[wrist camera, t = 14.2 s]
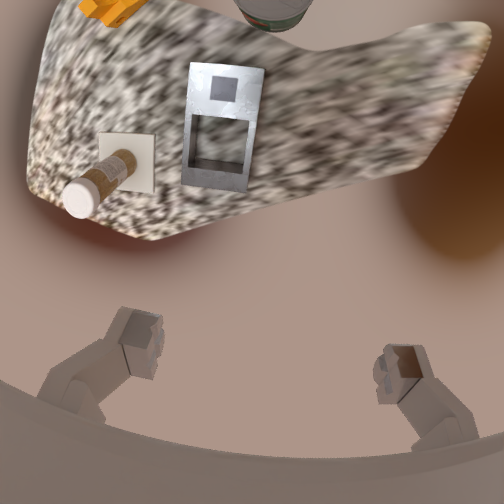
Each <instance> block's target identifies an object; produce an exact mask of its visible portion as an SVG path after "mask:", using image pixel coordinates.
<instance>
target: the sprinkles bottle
mask: <svg viewBox="0 0 504 504" xmlns="http://www.w3.org/2000/svg"><path fill="white" fill-rule="evenodd" d="M135 169H136V160H135V157H134V155H133V154H132V153H131V152H129V151H128V150H125V149H119V150H116V151H115V152H114V153H113V154H112V155H110V156H109V157H107V158H105V159H104V160H102V161H101V162H99V163H98V164H96V165H95V166H93V167H92V168H91V169H89V170H88V171H87V172H86V173H85V174H83V175H82V176H81V177H79V178H76V179H74V180H73V181H72V182H70V183H69V184H68V185H67V186H66V187H65V189H64V191H63V194H62V200H63V204H64V206H65V208H66V210H67V211H68V212H69V213H70V214H71V215H72V216H74V217H76V218H80V219H83V218H87V217H89V216H90V215H91V214H92V213H93V212H94V211H95V210H96V209H97V208H98V206H99V204H100V203H101V202H102V201H103V200H104V199H105V198H106V197H107V196H109V195H110V194H111V193H112V192H113V191H114V190H115V189H116V188H118V187H119V186H120V185H121V184H122V183H123V182H124V181H125V180H126V179H127V178H128V177H130V176H131V175H132V174H133V173H134V172H135Z"/></svg>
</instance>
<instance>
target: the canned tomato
mask: <svg viewBox="0 0 504 504" xmlns="http://www.w3.org/2000/svg"><path fill="white" fill-rule="evenodd" d="M312 1H313V0H234V2H235V3H236V4H237V6H238V7H239V9H240V10H241V12H242V14H243V15H244V17H245V19H246V20H247V21H248V22H249V23H250V24H251V25H252V26H254V27H255V28H257V29H259V30H262V31H265V32H283V31H286V30H289V29H291V28H293V27H294V26H295V25H297V24H298V23H299V22H300V21H301V19H302V18H303V16H304V14H305V12H306V11H307V9H308V7H309V6H310V5H311V3H312Z"/></svg>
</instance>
